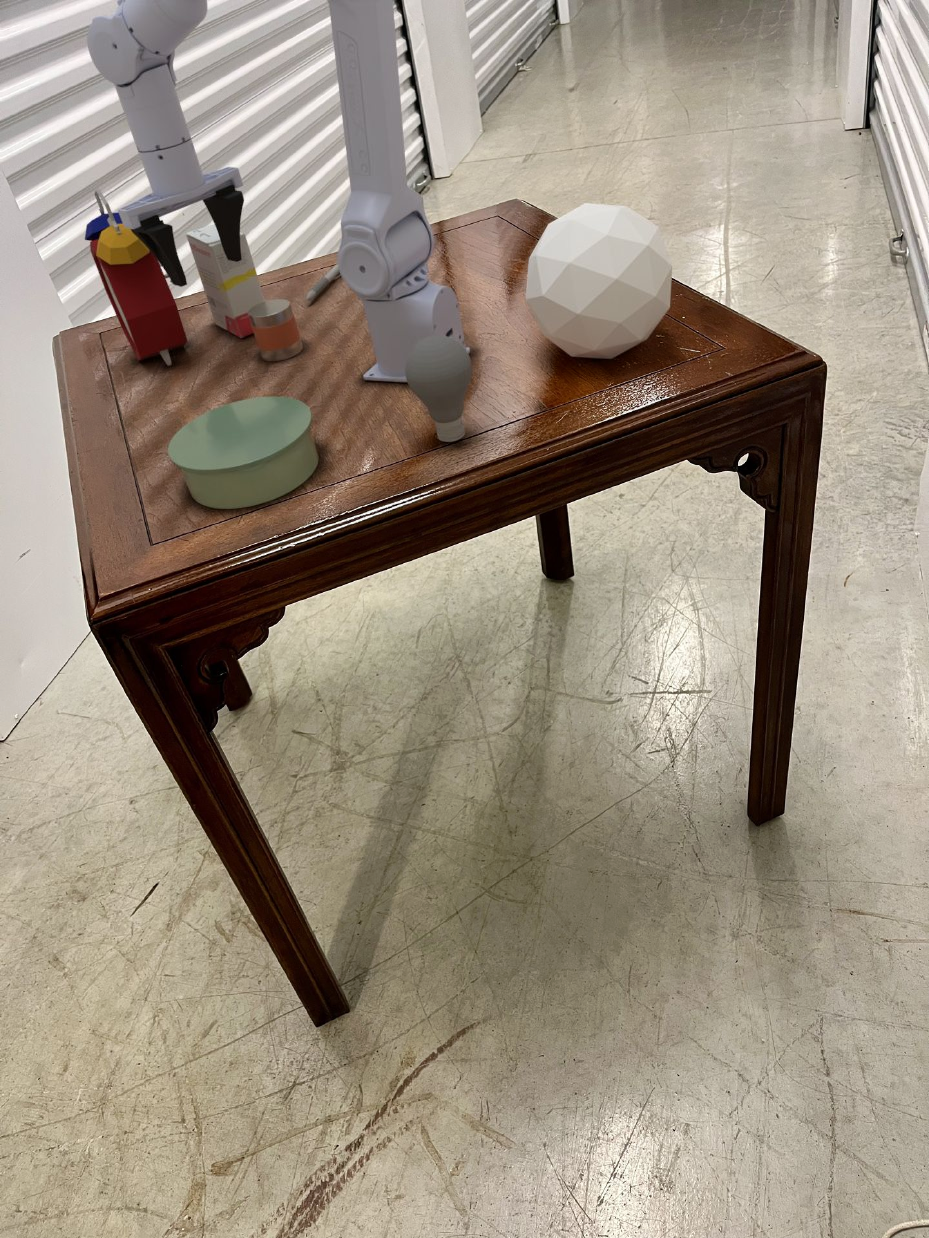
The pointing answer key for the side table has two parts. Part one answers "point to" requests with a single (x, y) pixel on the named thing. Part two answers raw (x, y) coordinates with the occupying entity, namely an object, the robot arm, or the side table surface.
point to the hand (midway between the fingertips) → (208, 272)
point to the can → (275, 330)
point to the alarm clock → (135, 286)
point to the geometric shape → (599, 280)
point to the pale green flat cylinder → (246, 452)
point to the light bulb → (441, 382)
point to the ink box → (226, 280)
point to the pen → (323, 282)
